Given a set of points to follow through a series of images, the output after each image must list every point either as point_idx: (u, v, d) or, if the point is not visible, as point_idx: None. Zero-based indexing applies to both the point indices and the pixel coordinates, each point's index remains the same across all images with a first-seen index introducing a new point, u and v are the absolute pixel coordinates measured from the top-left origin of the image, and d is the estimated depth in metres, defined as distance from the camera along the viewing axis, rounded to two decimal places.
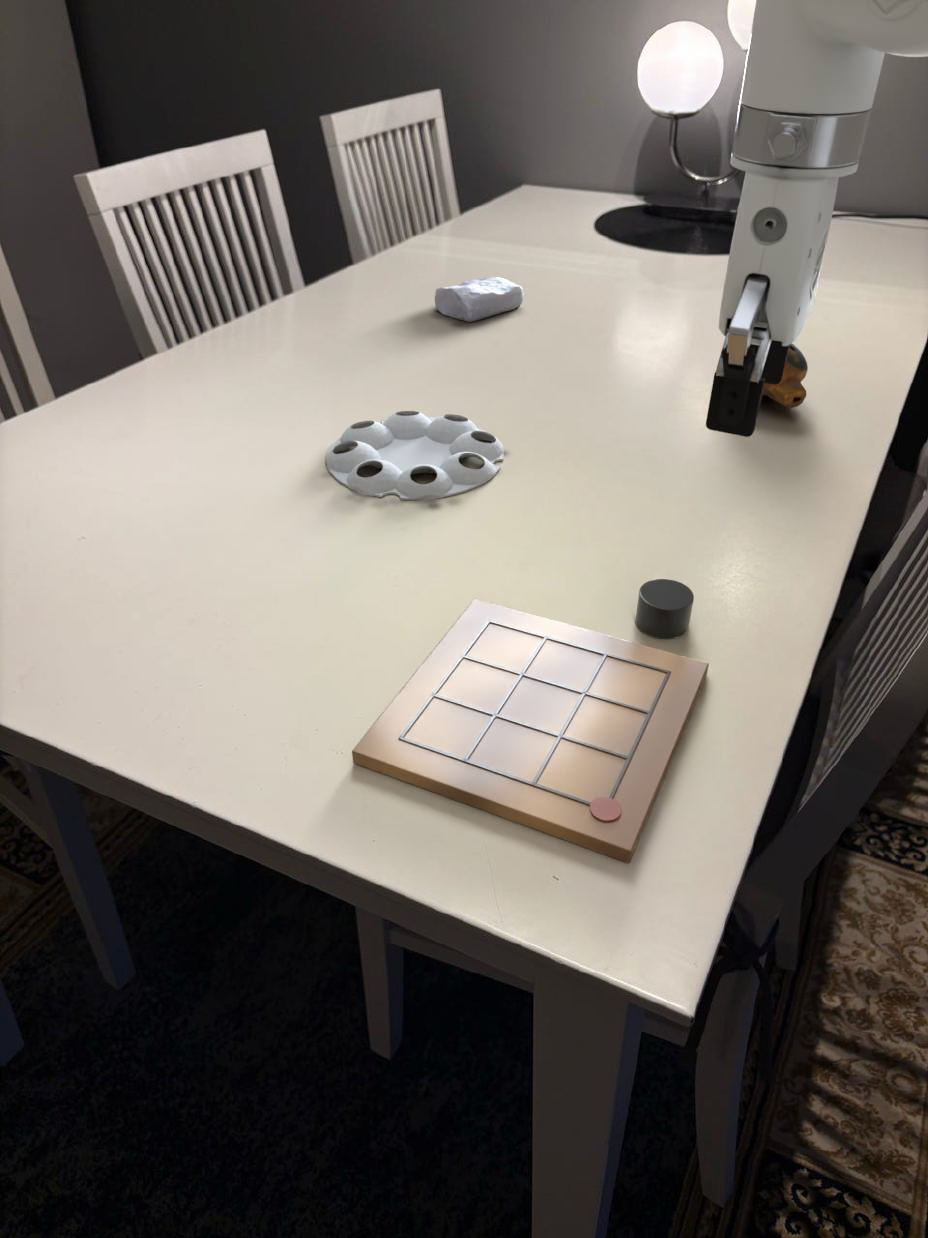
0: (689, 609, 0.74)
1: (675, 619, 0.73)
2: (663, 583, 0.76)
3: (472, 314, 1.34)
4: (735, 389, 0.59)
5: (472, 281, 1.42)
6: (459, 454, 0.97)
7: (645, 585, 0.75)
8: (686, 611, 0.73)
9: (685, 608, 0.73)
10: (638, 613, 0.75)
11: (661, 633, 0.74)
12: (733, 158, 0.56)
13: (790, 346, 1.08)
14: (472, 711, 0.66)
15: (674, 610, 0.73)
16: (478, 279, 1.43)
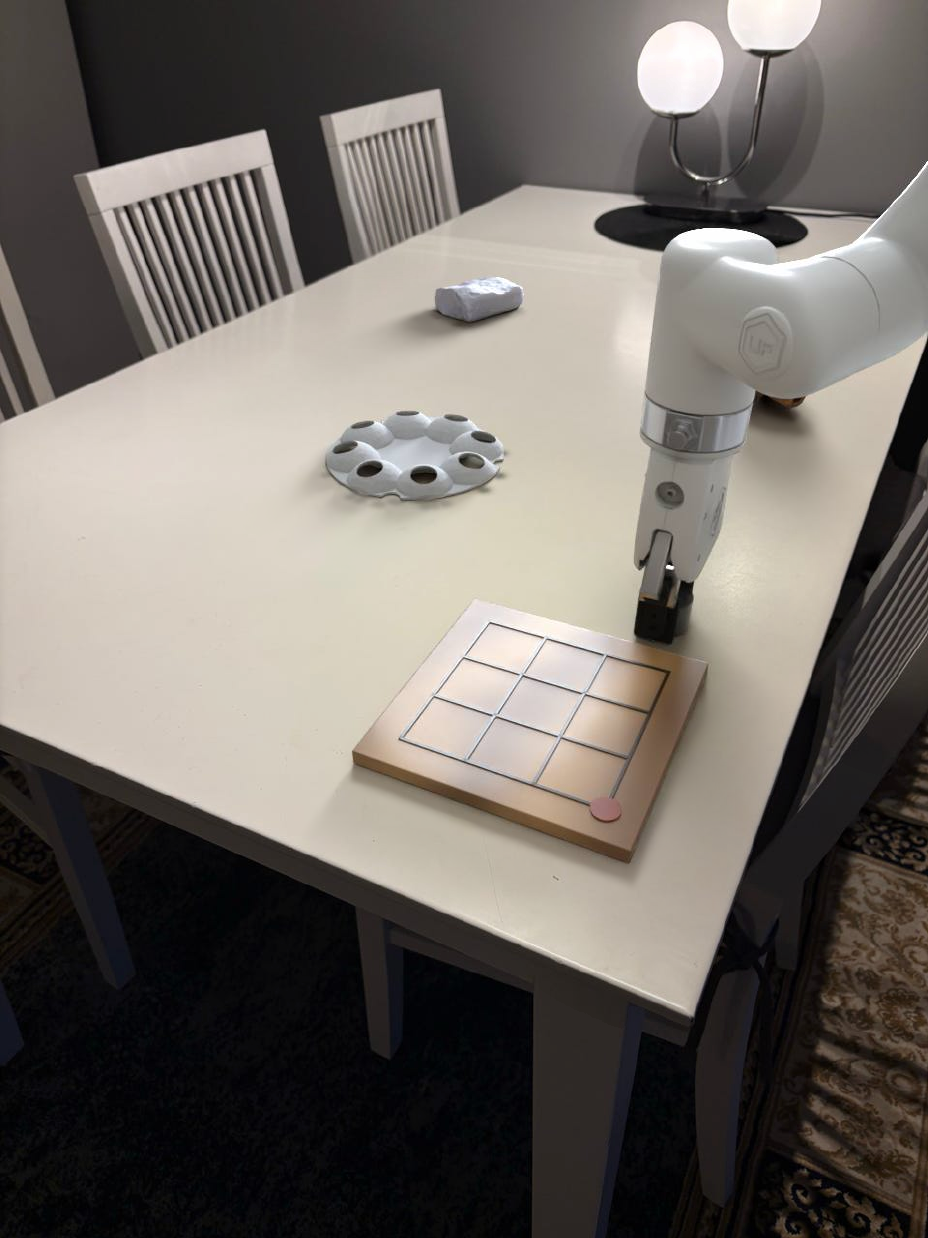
0: (689, 609, 0.74)
1: None
2: (663, 583, 0.76)
3: (472, 314, 1.34)
4: (655, 611, 0.71)
5: (472, 281, 1.42)
6: (459, 454, 0.97)
7: None
8: (686, 611, 0.73)
9: (685, 608, 0.73)
10: None
11: None
12: (641, 432, 0.66)
13: None
14: (472, 711, 0.66)
15: None
16: (478, 279, 1.43)
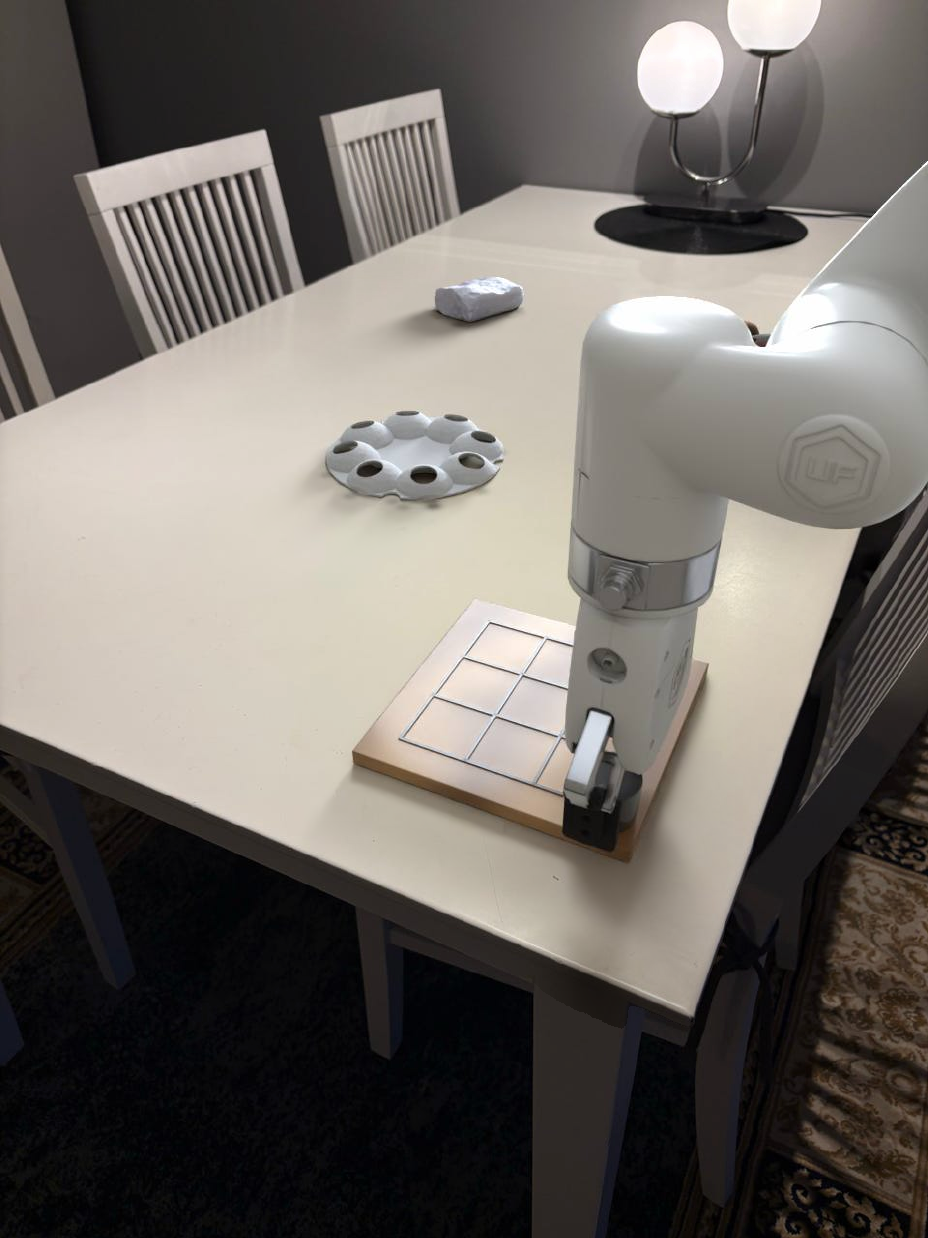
0: (636, 798, 0.56)
1: None
2: None
3: (472, 314, 1.34)
4: (587, 814, 0.51)
5: (472, 281, 1.42)
6: (459, 454, 0.97)
7: None
8: (632, 802, 0.56)
9: (631, 799, 0.55)
10: None
11: None
12: (568, 572, 0.47)
13: None
14: (472, 711, 0.66)
15: None
16: (478, 279, 1.43)
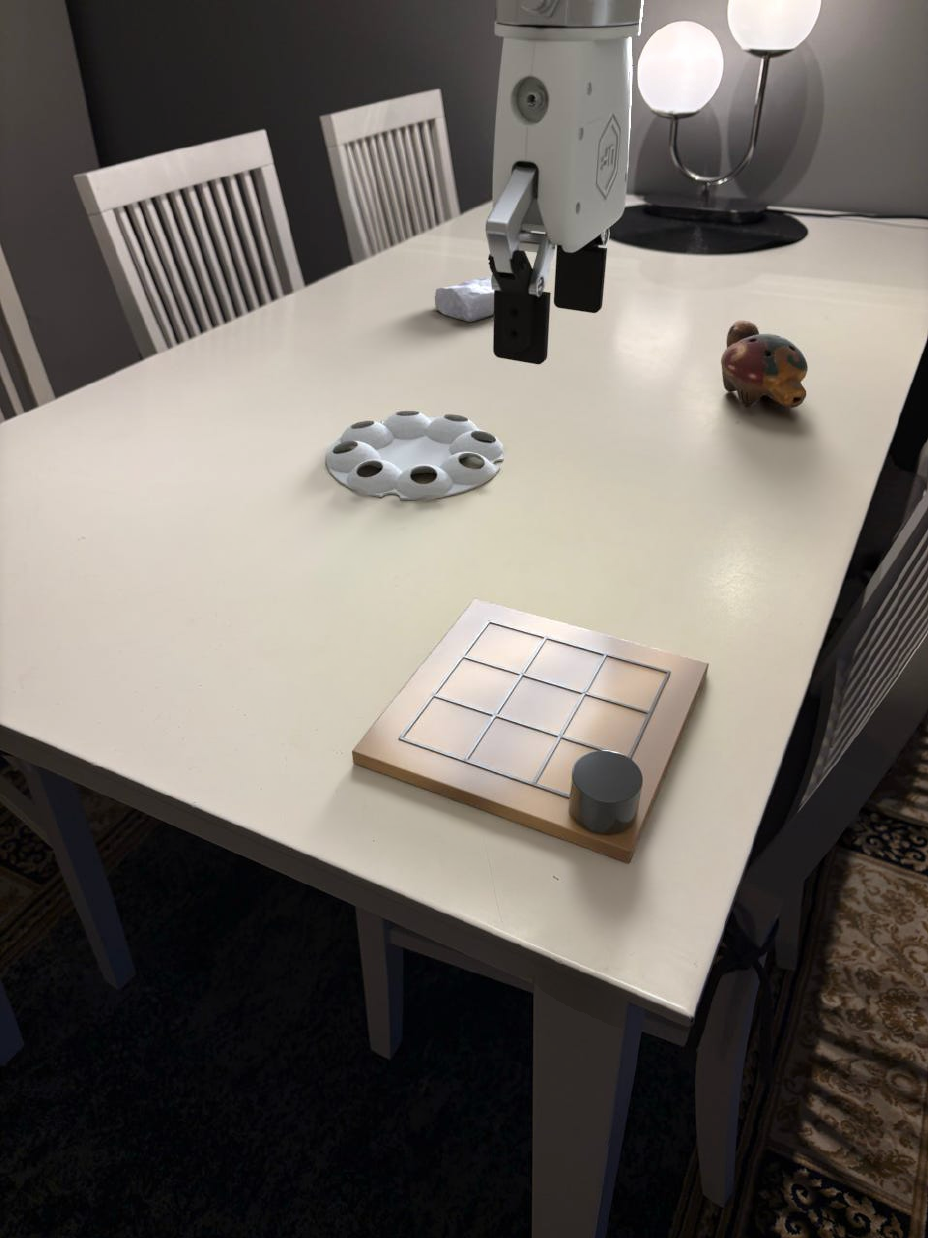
0: (636, 798, 0.56)
1: (617, 813, 0.55)
2: (604, 758, 0.58)
3: (472, 314, 1.34)
4: (515, 305, 0.50)
5: (472, 281, 1.42)
6: (459, 454, 0.97)
7: (580, 761, 0.58)
8: (632, 802, 0.56)
9: (631, 799, 0.55)
10: (571, 798, 0.57)
11: (600, 828, 0.56)
12: None
13: (790, 346, 1.08)
14: (472, 711, 0.66)
15: (615, 803, 0.55)
16: (478, 279, 1.43)
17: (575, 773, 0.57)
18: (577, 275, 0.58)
